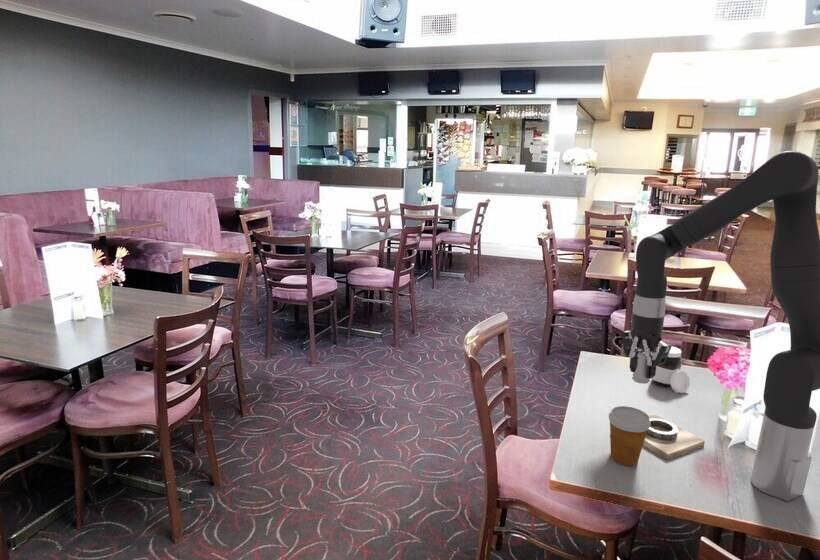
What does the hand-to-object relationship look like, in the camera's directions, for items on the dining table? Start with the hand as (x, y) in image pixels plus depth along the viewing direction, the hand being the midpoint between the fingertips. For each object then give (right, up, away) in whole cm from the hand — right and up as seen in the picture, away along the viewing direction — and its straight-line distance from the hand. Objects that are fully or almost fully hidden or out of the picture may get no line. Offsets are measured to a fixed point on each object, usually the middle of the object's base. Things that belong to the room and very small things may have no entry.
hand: (641, 374), depth 142 cm
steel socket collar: (+5, -15, 0) cm, 16 cm away
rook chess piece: (0, -2, 0) cm, 2 cm away
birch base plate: (+5, -17, +1) cm, 17 cm away
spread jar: (+23, -9, +31) cm, 40 cm away
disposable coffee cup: (-8, -19, -9) cm, 23 cm away
